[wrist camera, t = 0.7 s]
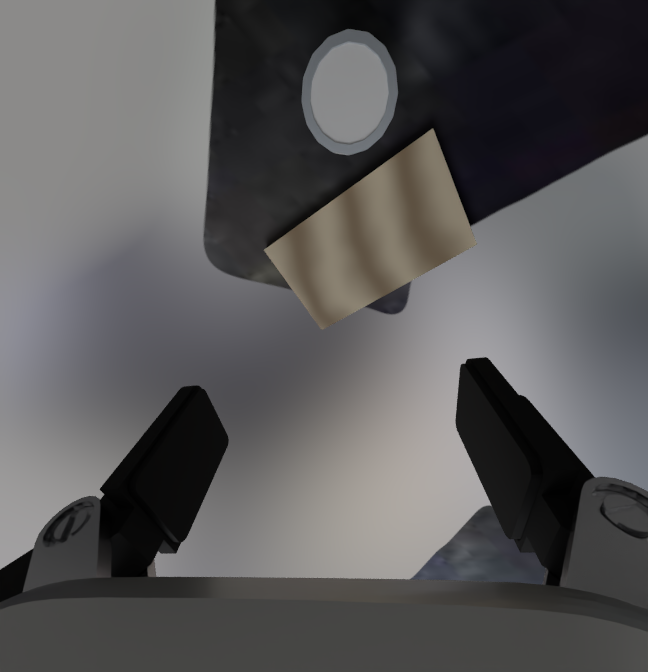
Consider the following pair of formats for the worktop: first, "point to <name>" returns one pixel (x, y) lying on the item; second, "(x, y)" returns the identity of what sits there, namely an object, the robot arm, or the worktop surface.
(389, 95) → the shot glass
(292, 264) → the birch board
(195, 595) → the robot arm
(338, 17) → the worktop surface
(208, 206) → the worktop surface
